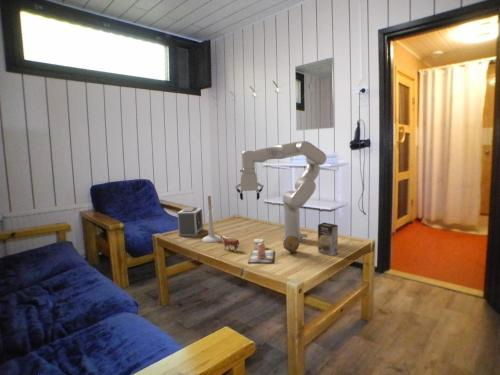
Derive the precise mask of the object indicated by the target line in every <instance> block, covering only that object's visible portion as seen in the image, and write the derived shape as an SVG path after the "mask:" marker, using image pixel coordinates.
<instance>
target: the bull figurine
mask: <svg viewBox="0 0 500 375" xmlns="http://www.w3.org/2000/svg"><path fill="white" fill-rule="evenodd" d="M220 237H221V240H222V241H223V244H224V249H223V250H224V251H226V250H227V249H228V250H230V249H231V248H234V249H233V250H234V251H233V252H234V253H236V252H237V250H238V249H239V246H240V242H239V241H240V240H239V239H236V238H230V237H229V236H228V235H226V234H223V235H222V236H220ZM227 247H228V248H227ZM230 247H231V248H230Z"/></svg>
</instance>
